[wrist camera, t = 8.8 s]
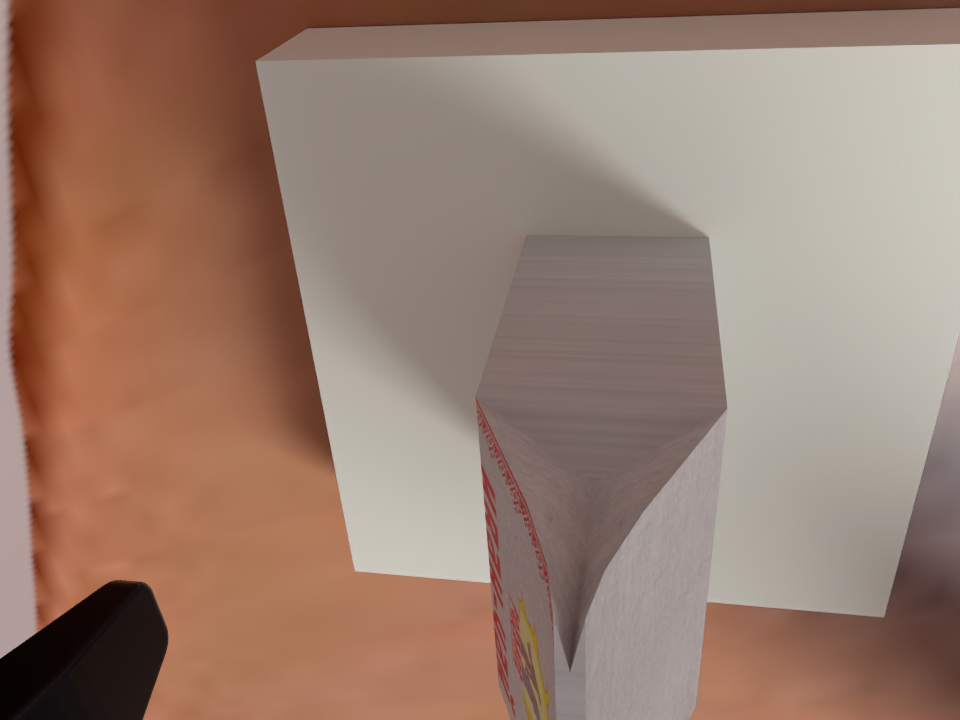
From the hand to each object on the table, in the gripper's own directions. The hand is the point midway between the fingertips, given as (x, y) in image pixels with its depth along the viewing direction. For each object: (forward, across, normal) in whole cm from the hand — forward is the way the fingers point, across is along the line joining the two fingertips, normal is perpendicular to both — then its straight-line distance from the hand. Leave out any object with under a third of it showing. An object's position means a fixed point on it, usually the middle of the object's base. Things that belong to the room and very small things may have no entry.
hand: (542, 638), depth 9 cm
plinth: (+13, 0, +4) cm, 14 cm away
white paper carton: (+10, 0, +4) cm, 11 cm away
